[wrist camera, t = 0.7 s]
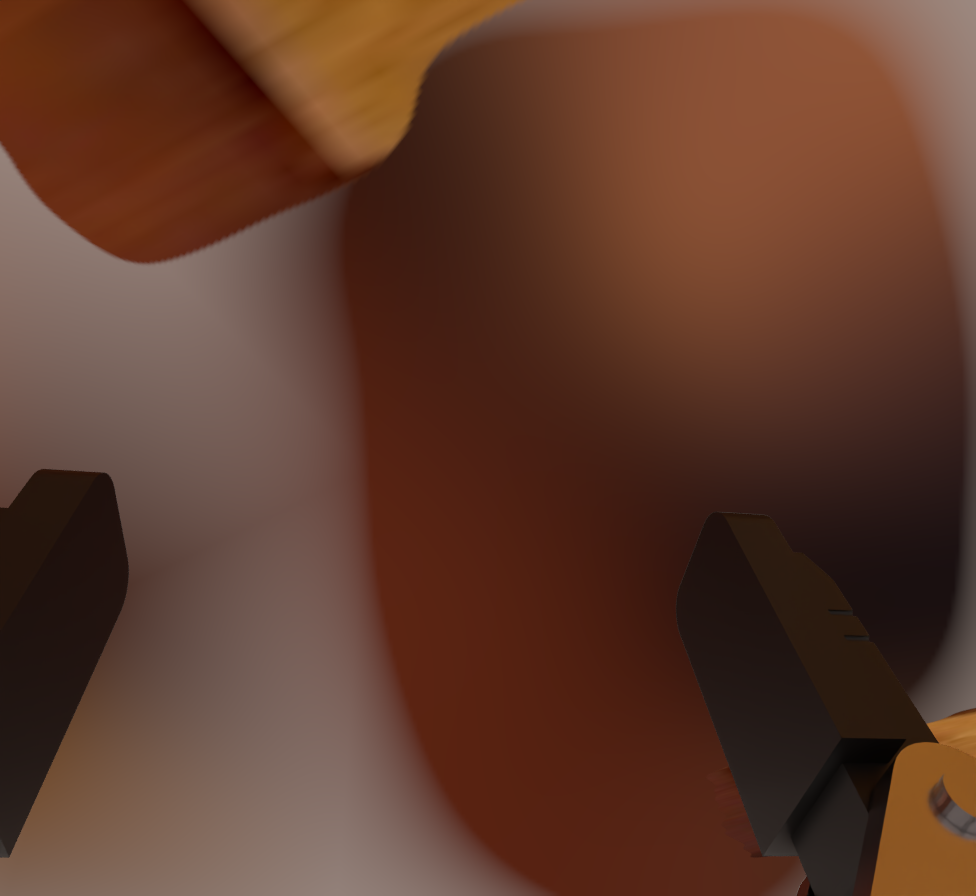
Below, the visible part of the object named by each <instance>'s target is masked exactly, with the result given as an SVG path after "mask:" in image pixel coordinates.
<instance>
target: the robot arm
mask: <svg viewBox="0 0 976 896" xmlns="http://www.w3.org/2000/svg"><path fill="white" fill-rule="evenodd" d="M128 577H129V565H128V557H127V552H126V547H125V542H124V537H123V532H122V526H121V521H120V515H119V510H118V504H117V500H116V494H115V489H114V484H113V482H112V479H111V477H110V476H109V475H108V474H107V473H101V472H84V471H68V470H51V469H41V470H38V471H37V472H36V473H34V474H33V476H32V477H31V478H30V479H29V481H28V482H27V483H26V485H25V486H24V488H23V489H22V490H21V492H20V493H19V494H18V496H17V497H16V498H15V500H14V501H13V503H12V504H11V505H10V506H9V508H0V857H10V854H11V852H12V850H13V848H14V845H15V843H16V841H17V838H18V837H19V834H20V832H21V830H22V828H23V825H24V823H25V821H26V819H27V817H28V815H29V812H30V810H31V808H32V806H33V804H34V801H35V799H36V797H37V795H38V793H39V790H40V788H41V786H42V784H43V782H44V779H45V777H46V775H47V773H48V771H49V768H50V766H51V764H52V762H53V760H54V757H55V755H56V753H57V751H58V749H59V746H60V744H61V742H62V740H63V738H64V735H65V733H66V731H67V729H68V727H69V724H70V722H71V720H72V718H73V716H74V713H75V711H76V709H77V706H78V705H79V702H80V700H81V698H82V696H83V694H84V691H85V689H86V687H87V685H88V682H89V680H90V678H91V676H92V674H93V672H94V669H95V667H96V665H97V663H98V660H99V658H100V656H101V654H102V652H103V650H104V647H105V645H106V643H107V641H108V639H109V636H110V634H111V632H112V630H113V628H114V625H115V623H116V621H117V619H118V616H119V614H120V612H121V610H122V607H123V604H124V601H125V597H126V593H127V587H128ZM852 611H853V610H852V608H851V607H850V605H849V604H848V602H847V601H846V599H845V598H844V597H843V595H842V593H841V591H840V590H839V588H838V587H837V585H836V584H835V582H834V581H833V579H832V578H830V577H829V576H828V575H827V574H826V573H825V572H824V571H822V570H821V569H820V568H819V567H818V566H817V565H816V564H815V563H813V562H812V561H811V560H810V559H809V558H808V557H806V556H805V555H804V554H803V553H794V552H792V550H791V548H790V547H789V545H788V543H787V542H786V540H785V538H784V537H783V535H782V533H781V532H780V530H779V529H778V527H777V525H776V524H775V522H774V521H773V520H772V519H771V518H770V517H769V516H767V515H759V514H743V513H727V512H713V513H712V514H710V515H709V516H708V518H707V519H706V521H705V523H704V525H703V528H702V530H701V533H700V535H699V538H698V541H697V544H696V546H695V548H694V551H693V553H692V556H691V559H690V561H689V564H688V566H687V569H686V571H685V574H684V577H683V580H682V582H681V584H680V587H679V590H678V594H677V602H676V618H677V625H678V629H679V633H680V636H681V638H682V640H683V644H684V646H685V649H686V652H687V654H688V657H689V660H690V662H691V665H692V668H693V670H694V673H695V676H696V678H697V681H698V684H699V687H700V689H701V692H702V694H703V697H704V700H705V703H706V705H707V708H708V710H709V713H710V716H711V719H712V721H713V724H714V727H715V729H716V732H717V735H718V737H719V740H720V742H721V745H722V748H723V751H724V753H725V756H726V759H727V761H728V764H729V767H730V770H731V772H732V775H733V778H734V780H735V783H736V786H737V788H738V791H739V794H740V796H741V799H742V802H743V804H744V807H745V810H746V812H747V815H748V818H749V820H750V823H751V826H752V829H753V831H754V834H755V837H756V839H757V842H758V845H759V847H760V850H761V853H762V855H763V856H799V858H800V861H801V863H802V866H803V868H804V871H805V873H806V875H807V876H806V878H805V879H804V880H803V882H802V883H801V884H800V887H799V889H798V892H797V895H796V896H976V758H975V757H973V756H971V755H969V754H967V753H965V752H963V751H961V750H959V749H956V748H953V747H950V746H947V745H943V744H939V742H938V741H937V740H936V738H935V737H934V735H933V734H932V732H931V730H930V729H929V727H928V726H927V724H926V723H925V721H924V720H923V719H922V717H921V715H920V713H919V712H918V710H917V709H916V707H915V706H914V704H913V703H912V701H911V700H910V698H909V696H908V695H907V693H906V692H905V690H904V689H903V687H902V686H901V684H900V683H899V681H898V680H897V678H896V676H895V675H894V673H893V672H892V670H891V669H890V667H889V666H888V664H887V662H886V661H885V659H884V658H883V656H882V655H881V653H880V652H879V650H878V649H877V647H876V645H875V644H874V643H873V642H869V635H868V633H867V632H866V630H865V629H864V627H863V625H862V624H861V622H860V621H859V619H858V618H857V617H855V616H853V615H852Z"/></svg>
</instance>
